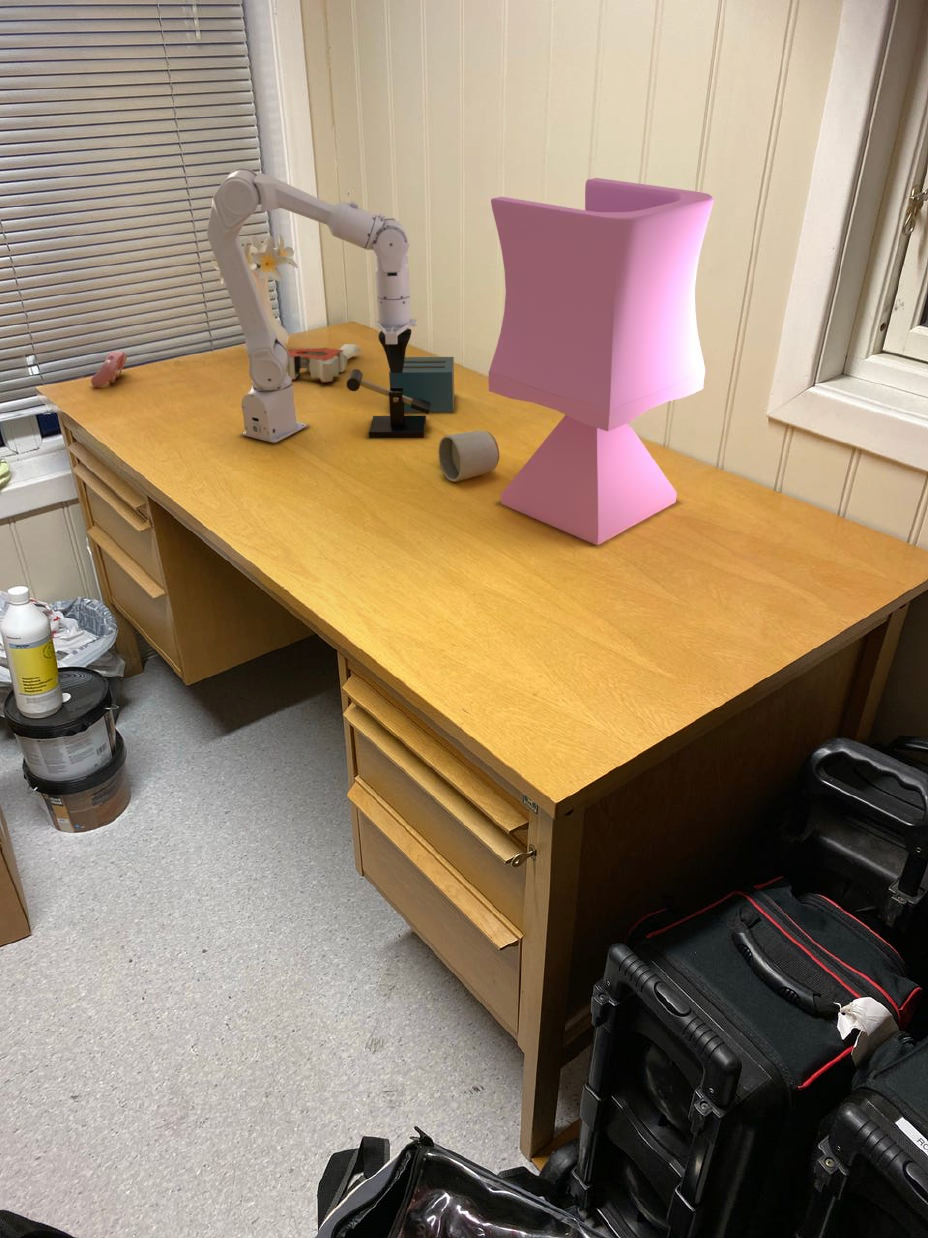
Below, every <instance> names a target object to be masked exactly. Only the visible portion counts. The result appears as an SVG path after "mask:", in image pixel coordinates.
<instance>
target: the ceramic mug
mask: <svg viewBox="0 0 928 1238" xmlns="http://www.w3.org/2000/svg"><path fill="white" fill-rule="evenodd" d="M437 454H438V461H439V462H438V463H439V466H440V468H441V471H442V473H443V474H444V476H445V477H446V479H447V480H448V481H451V482H454V483H456V482H459V481H463V480H467V479H471V478H474V477H477V476H482V475H486V474H488V473H491V472H492V471H494V470H496V468H497V466H498V464H499V461H500V449H499V445H498V441H497V440H496V438H495V437H494V435H493V434H492V433H491V432H490V431H488V430H472V431H467V432H459V433H452V434H446V435H444V436H442V438H441V439H440V440H439V443H438V450H437Z"/></svg>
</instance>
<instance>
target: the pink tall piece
mask: <svg viewBox="0 0 928 1238" xmlns="http://www.w3.org/2000/svg"><path fill="white" fill-rule="evenodd" d="M714 199H715V198H714V197H713V196H712V195H711V194H709V193H707V192H700V191H695V190H688V189H681V188H675V187H667V186H659V185H652V184H644V183H637V182H629V181H622V180H616V179H608V178H600V177H594V178H588V179H586V180H585V188H584V209H580V208H579V209H578V208H573V207H567V206H561V205H554V204H548V203H542V202H537V201H531V200H525V199H518V198H511V197H507V196H497V197H493V198H492V197H491V199H490V205H491V210H492V214H493V218H494V222H495V226H496V230H497V235H498V240H499V244H500V250H501V255H502V256H501V257H502V263H503V270H504V283H505V284H504V286H505V296H504V297H505V298H504V310H503V317H502V321H501V328H500V333H499V336H498V340H497V343H496V348H495V351H494V354H493V357H492V360H491V364H490V366H489V370H488V392H490V393H493V394H496V395H498V396H502V397H506V398H507V399H510V400H511V399H512V400H517V401H523V402H528V403H533V404H536V405H538V406H541V407H545V408H548V409H551V410H555V411H557V412H559V413H561V414H563V415H564V416H563V417H562V418H561V420H560V421H559V422H558V424H557V425H556V426H555V427H554V428H553V429H552V431H551V432H550V433H549V435H548V436H547V437H546V438H545V440H543V442H541V444H540V446H539V447H538V448H537V450H535V452H534V453H533V454H532V455H531V456H530V457H529V459H528V460H527V461H526V462H525V464H524V465H523V466H522V468H521V469H520V470H519V471H518V472H517V474H516V475H515V476H514V477H513V478H512V480H511V481H510V482H509V483H508V485H507V486H506V487H505V488H504V490H503V491H502V492H501V493H500V504H501V505H502V506H505V507H508V508H510V509H512V510H514V511H517V512H519V513H521V514H524V515H526V516H528V517H531V518H533V519H536V520H537V521H540V522H542V523H544V524H546V525H548V526H551V527H554V528H556V529H558V530H561V531H562V532H566V533H567V534H570V535H572V536H575V537H577V538H579V539H581V540H584V541H585V542H589V543H590V544H593V545H596V546H600V545H601V544H603V543H605V542H606V541H608V540H610V539H612V538H614V537H615V536H618V535H619V534H621V533H623V532H625V531H627V530H628V529H631V528H632V527H634V526H636V525H638V524H639V523H641V522H643V521H644V520H646V519H648V518H650V517H653V516H654V515H656V514H657V513H659V512H661V511H663V510H665V509H666V508H668V507H671V505H673V504H675V503H676V501H677V494H678V493H677V491H676V489H675V488H674V486H673V485H672V483H671V482H670V480H669V479H668V478H667V476H666V475H665V474H664V471H662V469H661V468H660V467H659V465H658V463H657V462H656V460H655V459H654V458H653V456H652V454H651V453H650V452H649V451H648V449H647V448H646V447H645V444H644V443H643V442H642V441H641V439H640V438H639V436H638V435H637V433H636V432H635V430H634V429H633V427H632V426H631V425H630V423H631V422H632V421H633V420H635V419H637V418H638V417H640V416H641V415H643V414H645V413H646V412H648V411H649V410H651V409H655V408H657V407H658V406H661V405H663V404H665V403H668V402H671V401H674V400H675V401H676V400H679V399H683V398H686V397H688V396H691V395H693V394H696V393H697V392H700V391H702V390H704V384H705V375H706V367H705V363H704V358H703V357H704V356H703V353H702V349H701V344H700V339H699V338H700V337H699V332H698V326H697V325H698V324H697V314H696V284H697V283H696V282H697V272H698V265H699V259H700V254H701V250H702V245H703V241H704V238H705V233H706V229H707V227H708V222H709V219H710V215H711V214H712V213H711V212H712V208H713V205H714Z"/></svg>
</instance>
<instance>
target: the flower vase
mask: <svg viewBox="0 0 928 1238" xmlns="http://www.w3.org/2000/svg"><path fill="white" fill-rule="evenodd" d="M249 242H250V243H251V244H248V241H247V239H245V240H244V242H243V246H242V247H243V250H244V252H245V255H246V258H247V261H248V264H249V266H250V269H251V272H252V275H253V278H254V280H255V283H256V286H257V289H258V292H259V294H260V297H261V300H262V303H263V306H264V308H265V311H266V314H267V317H268V320H269V322H270V325H271V327H272V328H273V329H274V331H275V332H276V335H277V337H278V339H279V341H280V342H281V343H282V344H283V345H284V346H285V347H286V348H287V346H288V344H289V342H290V336H289V333H288V332H287V330H286V328H284V326H282V325H281V324H280V323H279V322H278V320H277V319H276V317H275V315H274V311H273V308H272V303H271V296H270V289H269V275H270V277H272V279H273V280H275V281H277V282H281V281H282V273H281V271H280V270H279V269H278V268H279V267H283V266H284V265H291V266H293V267H294V268H295V269H298V268H299V266H298V264H297V262H295V260H294V259H293V258H291V257H292V256H294V254H295V251H294V249H293V248H292V247H291V246H286V247H285V241H284V238H283V236H282V234H279V235H278V240H276V241H275V237H274V236H269V237H266V238H265V240H263V242H262V241H261V240H260V239H259V237H258V236H256V235H255V234H252V235H250V236H249ZM274 243H275V244H276V247H274ZM209 254H210V256H211V257H212V259H213V260H210V263H211V265H212V266H213V268H214V269H215V270H216V271H220V269H219V266H218V264H217V261H216V258H215V256H214V253H213V252H211V251H210V252H209ZM218 277H219V281H220V284H221V285H222V286H223V285H225V282H224V280H223V277H222V274H221V272H219V274H218ZM225 287H226V285H225Z"/></svg>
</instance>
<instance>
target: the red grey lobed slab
mask: <svg viewBox="0 0 928 1238" xmlns="http://www.w3.org/2000/svg"><path fill="white" fill-rule="evenodd" d="M360 348H361V347H360V346H359V345H358V344H354V343H353V344H352V343H345V344H344V343H343V344H342V345H341V347H339V348H330V347H329V348H328V347H320V348H295V349H294V348H292V349H287V350H288V353H289V363H288V366H287V368H286V372H287V374H288V375H289V377H290V378H291V379H292V380H296V378H297V377H298V376H300V372H301V369H306V372H309V374H310V377H311V378H318V379H319V382H320V383H322V384H325V383H329V382H333V381H334V377H339V374H340V373H343V372H345V369H346V367H347V366H348V360H349V359H351V358H353V357H358V356H359V355H360V354H361V349H360Z"/></svg>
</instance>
